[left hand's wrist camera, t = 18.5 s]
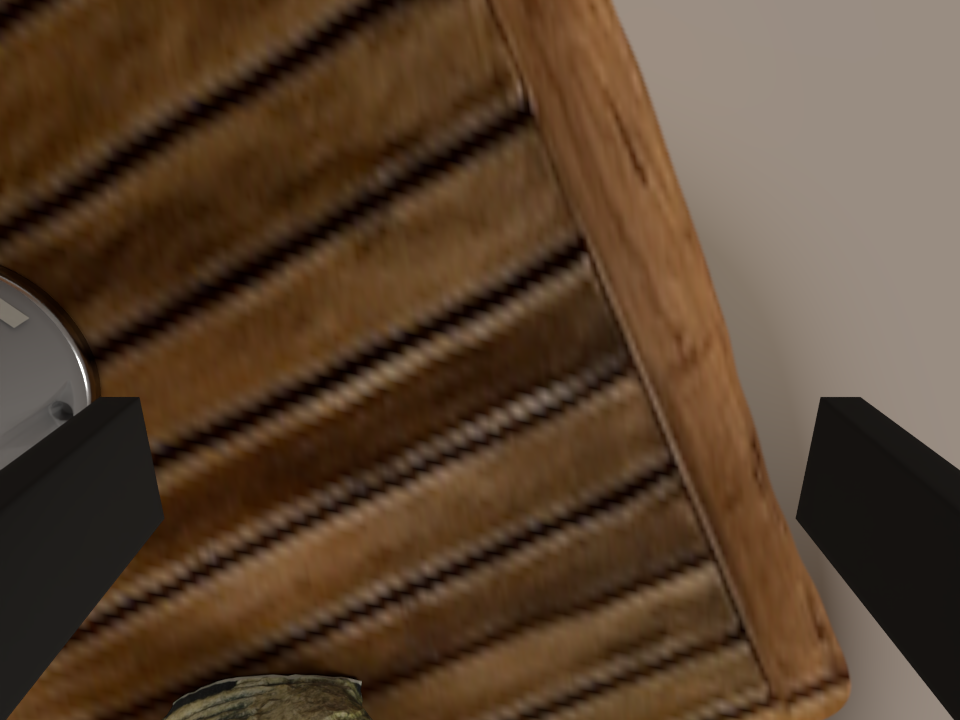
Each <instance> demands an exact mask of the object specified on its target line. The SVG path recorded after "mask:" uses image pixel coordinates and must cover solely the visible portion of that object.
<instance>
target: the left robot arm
mask: <svg viewBox="0 0 960 720" xmlns="http://www.w3.org/2000/svg"><path fill="white" fill-rule="evenodd" d="M163 519H164V515H163V510H162V505H161V500H160V495H159V490H158V485H157V481H156V476H155V471H154V466H153V461H152V456H151V451H150V446H149V442H148V437H147V432H146V427H145V422H144V417H143V412H142V408H141V403H140V398H139V397H100V380H99V374H98V370H97V366H96V363H95V360H94V357H93V354H92V352H91V350H90V347H89V345H88V343H87V341H86V340H85V338H84V336H83V334H82V333H81V331H80V330H79V328H78V327H77V325H76V324H75V322H74V321H73V320H72V319H71V317H70V316H69V315H68V314H67V313H66V311H65V310H64V309H63V308H62V307H61V306H60V305H59V304H58V303H57V302H56V301H55V300H54V299H53V298H51V297H50V296H49V295H48V294H47V293H45V292H44V291H43V290H42V289H40V288H39V287H38V286H36V285H35V284H33V283H32V282H30V281H29V280H27V279H25V278H24V277H22V276H20V275H18V274H17V273H15V272H13V271H10V270H8V269H6V268H4V267H1V266H0V720H6V719H7V718H8V717H9V715H10V714H11V713H12V711H13V710H14V709H15V708H16V706H17V705H18V704H19V703H20V701H21V700H22V699H23V697H24V696H25V695H26V694H27V692H28V691H29V690H30V689H31V687H32V686H33V685H34V683H35V682H36V681H37V680H38V678H39V677H40V676H41V675H42V673H43V672H44V671H45V669H46V668H47V667H48V666H49V664H50V663H51V662H52V661H53V659H54V658H55V657H56V655H57V654H58V653H59V652H60V650H61V649H62V648H63V647H64V645H65V644H66V643H67V642H68V640H69V639H70V638H71V636H72V635H73V634H74V633H75V631H76V630H77V629H78V628H79V626H80V625H81V624H82V622H83V621H84V620H85V619H86V617H87V616H88V615H89V614H90V612H91V611H92V610H93V608H94V607H95V606H96V605H97V603H98V602H99V601H100V600H101V598H102V597H103V596H104V594H105V593H106V592H107V591H108V589H109V588H110V587H111V586H112V584H113V583H114V582H115V580H116V579H117V578H118V577H119V575H120V574H121V573H122V572H123V570H124V569H125V568H126V567H127V565H128V564H129V563H130V561H131V560H132V559H133V558H134V556H135V555H136V554H137V553H138V551H139V550H140V549H141V547H142V546H143V545H144V544H145V542H146V541H147V540H148V539H149V537H150V536H151V535H152V533H153V532H154V531H155V530H156V528H157V527H158V526H159V525H160V523H161V522H162V521H163ZM796 519H797V521H798V522H799V523H800V525H801V526H802V527H803V528H804V530H805V531H806V532H807V533H808V535H809V536H810V537H811V539H812V540H813V541H814V542H815V544H816V545H817V546H818V547H819V549H820V550H821V551H822V552H823V554H824V555H825V556H826V558H827V559H828V560H829V561H830V563H831V564H832V565H833V567H834V568H835V569H836V570H837V572H838V573H839V574H840V575H841V577H842V578H843V579H844V580H845V582H846V583H847V584H848V586H849V587H850V588H851V589H852V591H853V592H854V593H855V594H856V596H857V597H858V598H859V600H860V601H861V602H862V603H863V605H864V606H865V607H866V608H867V610H868V611H869V612H870V614H871V615H872V616H873V617H874V619H875V620H876V621H877V622H878V624H879V625H880V626H881V628H882V629H883V630H884V631H885V633H886V634H887V635H888V636H889V638H890V639H891V640H892V642H893V643H894V644H895V645H896V647H897V648H898V649H899V650H900V652H901V653H902V654H903V655H904V657H905V658H906V659H907V661H908V662H909V663H910V664H911V666H912V667H913V668H914V669H915V671H916V672H917V673H918V675H919V676H920V677H921V678H922V680H923V681H924V682H925V683H926V685H927V686H928V687H929V688H930V690H931V691H932V692H933V694H934V695H935V696H936V697H937V699H938V700H939V701H940V703H941V704H942V705H943V706H944V708H945V709H946V710H947V711H948V713H949V714H950V715H951V717H952V718H953V719H954V720H960V470H959V469H957V468H956V467H955V466H953V465H952V464H951V463H949V462H948V461H946V460H945V459H944V458H942V457H941V456H940V455H938V454H937V453H936V452H934V451H933V450H932V449H930V448H929V447H927V446H926V445H925V444H923V443H922V442H921V441H919V440H918V439H917V438H915V437H914V436H913V435H911V434H910V433H908V432H907V431H906V430H904V429H903V428H902V427H900V426H899V425H898V424H896V423H895V422H893V421H892V420H891V419H889V418H888V417H887V416H885V415H884V414H883V413H881V412H880V411H879V410H877V409H876V408H874V407H873V406H872V405H870V404H869V403H868V402H866V401H865V400H864V399H862V398H861V397H821V398H820V403H819V408H818V412H817V417H816V422H815V427H814V432H813V437H812V442H811V446H810V451H809V456H808V461H807V466H806V471H805V476H804V481H803V486H802V490H801V495H800V500H799V505H798V510H797V515H796Z"/></svg>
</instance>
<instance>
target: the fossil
mask: <svg viewBox="0 0 960 720" xmlns="http://www.w3.org/2000/svg"><path fill="white" fill-rule="evenodd" d="M361 683H362V681H358V680H354V679H350V678H345V677H328V676H318V675H296V674H295V675H291V676H282V675H261V676H248V677H238V678H231V679H225V680H221V681H218V682H215V683H213V684H210V685H207V686H205V687H202V688H200V689H198V690H197V691H195V692H192V693H188V694H186V695H184V696H182V697H181V698H180V699H178V700H177V701H175V702H174V703H173V706H172V708H171V710H170V711H169V713H168V714H167V716H166V717H164V718H163V719H162V720H372V719H371V718H370V716H369V715H368V714H367V712H366V711H365V709H364V708H363V707H362V701H363V700H362V695H361V691H360V689H361Z"/></svg>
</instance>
